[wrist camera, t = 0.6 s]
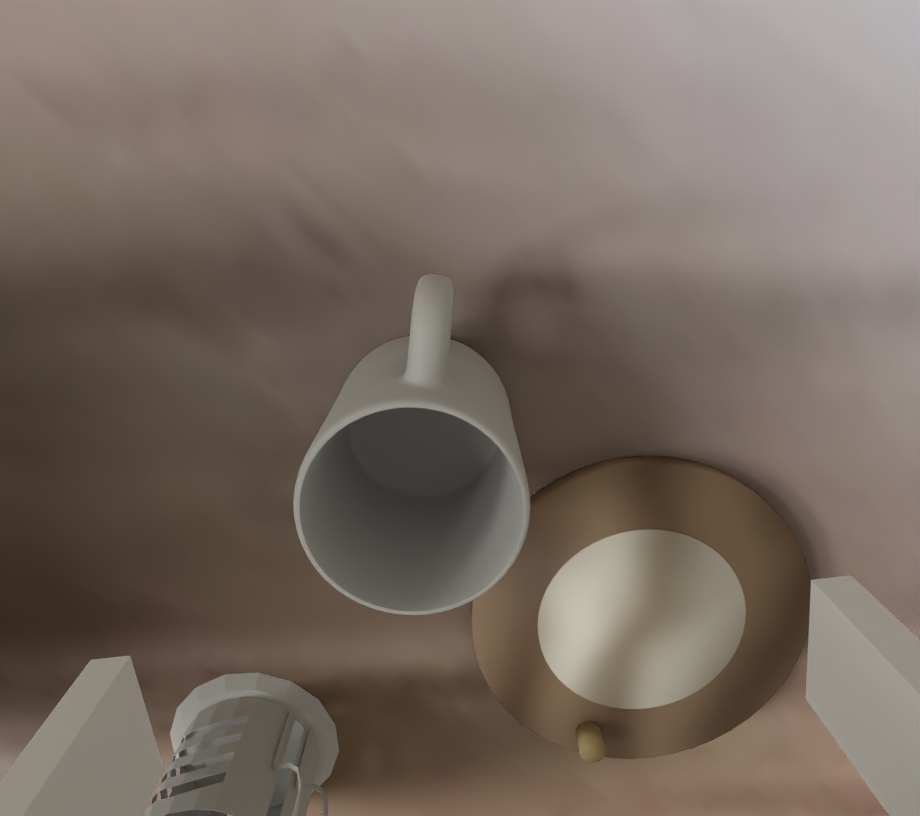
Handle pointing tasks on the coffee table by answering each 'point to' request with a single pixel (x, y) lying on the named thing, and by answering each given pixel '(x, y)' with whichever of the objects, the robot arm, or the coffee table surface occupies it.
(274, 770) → the french press
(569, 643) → the ring
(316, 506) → the mug
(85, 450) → the coffee table surface
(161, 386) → the coffee table surface
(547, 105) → the coffee table surface
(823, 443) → the coffee table surface
